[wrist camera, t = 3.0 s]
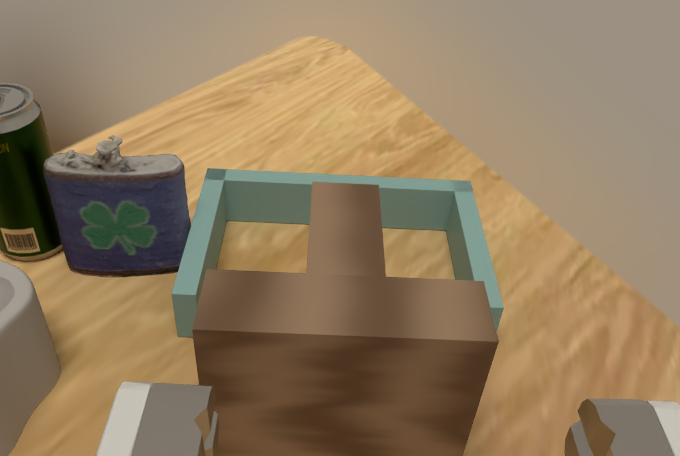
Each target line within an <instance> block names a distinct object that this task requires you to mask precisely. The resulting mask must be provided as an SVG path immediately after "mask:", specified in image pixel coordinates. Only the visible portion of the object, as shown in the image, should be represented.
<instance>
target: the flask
mask: <svg viewBox="0 0 680 456" xmlns="http://www.w3.org/2000/svg"><path fill="white" fill-rule="evenodd" d="M108 138H110V139H112V140H113V142H112V141H102V142H98V144H99V145H98V146H97V147H96V150H97V151H98V152H97V153H95V154H94V155H92V156H91V155H86V154H79V153H76V152H74V150H69V151H68V152H67V153H59V154H57V155H52V156H51V157H49V158H48V159H46V160H45V163H44V166H43V172H44V178H45V180H46V184H47V188H48V192H49V195H50V198H51V203H52V206H53V209H54V214H55V218H56V221H57V225H58V231H59V234H60V239H61V243H62V247H63V250H64V253H65V256H66V259H67V262H68V265H69V268H70V270H71V271H73V272H75V273H80V274H83V275H95V276H108V277H118V276H122V277H124V276H128V275H137V276H139V275H152V274H159V273H160V274H162V273H173V272H176V271H178V270H179V266H180V263H181V259H182V256H183V253H184V249H185V246H186V242H187V239H188V235H189V232H190V228H191V222H190V218H189V211H188V205H187V195H186V188H185V172H184V165H183V162H182V161H181V160H180V159H179V158H178V157H177V156H176V155H171V154H160V155H148V156H131V157H121V155H120V151H119V145H120V144H121V143H122V139H121V138H118V137H114V136H113V135H112V136H109V137H108Z"/></svg>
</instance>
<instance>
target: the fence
mask: <svg viewBox="0 0 680 456" xmlns="http://www.w3.org/2000/svg"><path fill="white" fill-rule="evenodd" d="M312 182H330V183H351V184H372V185H379V193H380V206H381V220H382V228H402V229H424V230H446V233H447V238H448V243H449V248H450V253H451V258H452V264H453V269H454V274H455V279H456V280H469V281H484V284H485V288H486V292H487V296H488V300H489V304H490V308H491V313H492V317H493V321H494V325H495V329H496V331H497V328H498V325H499V321H500V318H501V315H502V312H503V309H504V307H503V303H502V300H501V296H500V292H499V288H498V284H497V281H496V277H495V273H494V269H493V266H492V262H491V258H490V254H489V250H488V247H487V243H486V239H485V235H484V231H483V228H482V224H481V220H480V216H479V212H478V209H477V205H476V201H475V197H474V193H473V190H472V186H471V182H470V181H457V180H436V179H415V178H395V177H374V176H353V175H333V174H312V173H292V172H271V171H250V170H230V169H209V168H208V169H207V173H206V176H205V179H204V183H203V186H202V190H201V193H200V197H199V200H198V204H197V207H196V211H195V214H194V218H193V221H192V225H191V228H190V232H189V235H188V239H187V242H186V246H185V249H184V253H183V256H182V259H181V263H180V266H179V270H178V273H177V277H176V280H175V284H174V287H173V291H172V300H173V307H174V313H175V320H176V326H177V333H178V337H193V333H192V328H193V324H194V319H195V315H196V311H197V307H198V303H199V298H200V294H201V290H202V286H203V282H204V278H205V273H206V269H214V270H216V267H217V262H218V258H219V253H220V249H221V244H222V240H223V235H224V231H225V226H226V222H227V220H228V221H249V222H271V223H293V224H310V210H311V194H312Z"/></svg>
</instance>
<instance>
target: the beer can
mask: <svg viewBox="0 0 680 456" xmlns="http://www.w3.org/2000/svg"><path fill="white" fill-rule="evenodd" d="M52 155H53V153H52V149H51V145H50V142H49V138H48V134H47V130H46V126H45V123H44V119H43V115H42V111H41V108H40V105H39V104H38V102H37V101H36V100H35V99H34V95H33V92H32V91H31V90H30V89H29V88H27V87H25V86H22V85H20V84H13V83H0V250H1V251H2V252H3V253H5V254H6V255H7V256H9V257H10V258H12V259H14V260H19V261H37V260H42V259H46V258H48V257H51V256H53V255H55V254H57V253H58V252H59V251H61V250H62V249H63V247H62V243H61V239H60V234H59V231H58V225H57V221H56V218H55V214H54V209H53V206H52V203H51V198H50V195H49V192H48V188H47V184H46V180H45V178H44V172H43V166H44V163H45V160H46V159H48V158H49V157H51V156H52Z"/></svg>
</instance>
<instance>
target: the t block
mask: <svg viewBox="0 0 680 456" xmlns="http://www.w3.org/2000/svg"><path fill="white" fill-rule="evenodd" d="M192 333H193V340H194V348H195V355H196V363H197V371H198V378H199V385H202V386H214V387H215V394H216V402H215V408H214V411H215V412H216V413H217V414H218V421H219V437H218V448H217V456H462V455H463V452H464V449H465V446H466V443H467V440H468V436H469V433H470V430H471V427H472V424H473V421H474V418H475V414H476V411H477V408H478V405H479V402H480V399H481V395H482V392H483V389H484V386H485V383H486V380H487V377H488V373H489V370H490V367H491V364H492V361H493V358H494V355H495V351H496V348H497V345H498V342H499V341H498V337H497V333H496V329H495V325H494V321H493V317H492V313H491V308H490V304H489V300H488V296H487V292H486V288H485V284H484V281H469V280H446V279H422V278H399V277H386V274H385V260H384V247H383V233H382V220H381V206H380V193H379V185H372V184H351V183H330V182H312V194H311V210H310V226H309V241H308V257H307V273H284V272H260V271H237V270H214V269H206V273H205V278H204V282H203V286H202V290H201V294H200V298H199V303H198V307H197V311H196V315H195V319H194V324H193V328H192Z"/></svg>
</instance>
